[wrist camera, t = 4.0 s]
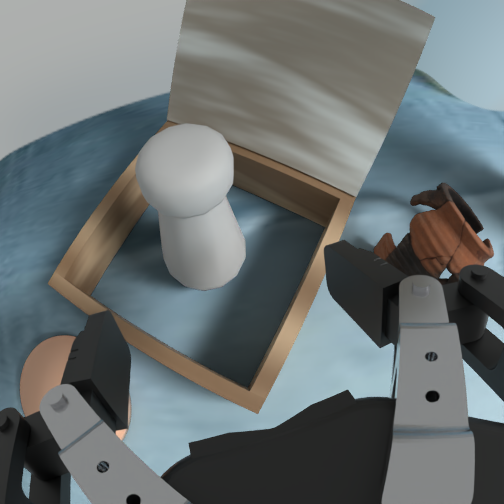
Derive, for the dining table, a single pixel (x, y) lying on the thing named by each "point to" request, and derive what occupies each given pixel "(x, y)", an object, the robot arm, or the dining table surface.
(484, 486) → the robot arm
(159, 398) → the dining table surface
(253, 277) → the dining table surface
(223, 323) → the dining table surface
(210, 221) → the salt shaker
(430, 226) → the pottery mug
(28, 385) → the terracotta saucer
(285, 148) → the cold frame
